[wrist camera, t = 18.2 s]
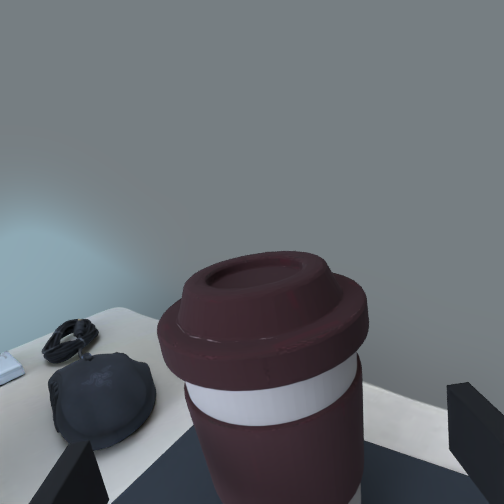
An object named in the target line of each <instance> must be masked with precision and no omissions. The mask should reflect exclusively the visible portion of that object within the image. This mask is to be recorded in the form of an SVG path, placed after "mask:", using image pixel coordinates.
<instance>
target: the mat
mask: <svg viewBox="0 0 504 504" xmlns="http://www.w3.org/2000/svg"><path fill="white" fill-rule="evenodd" d="M360 485H361V504H489V502H488V501H487V500H486V498H485V497H484V496H483V494H482V493H481V492H480V490H479V489H478V487H477V486H476V485H475V483H474V482H473V481H472V479H471V478H470V477H469V476H467V475H464V474H461V473H458V472H455V471H453V470H450V469H447V468H444V467H441V466H438V465H435V464H432V463H429V462H426V461H423V460H420V459H417V458H414V457H411V456H408V455H405V454H403V453H400V452H397V451H394V450H391V449H388V448H385V447H382V446H379V445H376V444H373V443H370V442H367V441H364V469H363V475H362V479H361V483H360ZM111 504H223V503H222V501H221V499H220V498H219V496H218V494H217V492H216V489H215V487H214V484H213V481H212V478H211V475H210V472H209V469H208V466H207V463H206V460H205V457H204V454H203V451H202V448H201V445H200V442H199V439H198V436H197V433H196V430H195V427H194V425H193V426H192V427H191V428H190V429H189V430H188V431H187V432H186V433H184V434H183V435H182V436H181V437H180V438H179V439H178V440H177V441H176V442H175V443H174V444H173V445H172V446H171V447H170V448H169V449H168V450H167V451H166V452H165V453H164V454H162V455H161V456H160V457H159V458H158V459H157V460H156V461H155V462H154V463H153V464H152V465H151V466H150V467H149V468H148V469H147V470H146V471H145V472H144V473H143V474H142V475H141V476H139V477H138V478H137V479H136V480H135V481H134V482H133V483H132V484H131V485H130V486H129V487H128V488H127V489H126V490H125V491H124V492H123V493H122V494H121V495H120V496H119V497H118V498H116V499H115V500H114V501H113V502H112V503H111Z"/></svg>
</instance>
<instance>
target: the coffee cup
mask: <svg viewBox="0 0 504 504" xmlns="http://www.w3.org/2000/svg"><path fill="white" fill-rule="evenodd" d="M368 329H369V317H368V307H367V298H366V294H365V292H364V291H363V289H362V287H361V286H360V285H359V284H357V283H356V282H355V281H354V280H352V279H350V278H348V277H345V276H343V275H339V274H336V273H332V272H331V270H330V268H329V266H328V265H327V263H326V262H325V260H324V259H322V258H321V257H319V256H317V255H314V254H311V253H306V252H296V251H277V252H265V253H258V254H252V255H246V256H241V257H237V258H233V259H229V260H226V261H222V262H219V263H216V264H213V265H211V266H209V267H206V268H204V269H202V270H200V271H198V272H197V273H195V274H194V275H193V276H192V277H190V278H189V279H188V280H187V281H186V283H185V285H184V288H183V293H182V298H181V299H180V300H178V301H177V302H176V303H174V304H173V305H172V306H171V307H169V308H168V310H166V312H165V313H164V314H163V315H162V317H161V319H160V320H159V323H158V326H157V335H158V339H159V343H160V347H161V351H162V355H163V358H164V361H165V363H166V365H167V367H168V368H169V369H170V371H171V372H172V373H174V374H175V375H176V376H177V377H179V378H180V379H182V380H183V381H185V385H184V391H185V399H186V402H187V406H188V409H189V412H190V415H191V418H192V421H193V424H194V427H195V430H196V433H197V436H198V439H199V442H200V445H201V448H202V451H203V454H204V457H205V460H206V463H207V466H208V469H209V472H210V475H211V478H212V481H213V484H214V487H215V489H216V492H217V494H218V496H219V498H220V499H221V501H222V503H223V504H361V485H360V483H361V479H362V475H363V469H364V431H363V386H362V367H361V361H360V358H359V355H358V353H357V352H356V351H357V350H358V349H359V347H360V346H361V345H362V344H363V342H364V340H365V339H366V336H367V333H368Z"/></svg>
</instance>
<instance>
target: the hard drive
mask: <svg viewBox="0 0 504 504" xmlns="http://www.w3.org/2000/svg"><path fill="white" fill-rule="evenodd" d="M23 374H25V372H24V369H23V367H22V365H21V364H20V363H19V362H18V361H17V360H16V359H15V358H14V357H13V356H12V355H11V354H10V353H9V352H8V351H5V352H3V353H0V385H2V384H4V383H6V382H8V381H10V380H12V379H15V378H17V377H19V376H21V375H23Z"/></svg>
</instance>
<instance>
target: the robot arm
mask: <svg viewBox="0 0 504 504" xmlns="http://www.w3.org/2000/svg"><path fill="white" fill-rule="evenodd" d="M447 405H448V431H449V450H450V451H451V452H452V454H453V455H454V456H455V458H456V459H457V460H458V462H459V463H460V464H461V466H462V467H463V469H464V470H465V471H466V473H467V474H468V475H469V477H470V478H471V479H472V481H473V482H474V483H475V485H476V486H477V487H478V489H479V490H480V492H481V493H482V494H483V496H484V497H485V498H486V500H487V501H488V502H489V504H504V415H503V414H502V413H501V412H500V411H498V409H497V408H495V407H494V406H493V405H492V404H491V403H490V402H489V401H488V400H487V399H486V398H485V397H484V396H483V395H482V394H480V393H479V392H478V391H477V390H476V389H475V388H474V387H473V386H472V385H471V384H470V383H469V382H466V383H459V384H452V385H447ZM108 501H109V497H108V494H107V491H106V488H105V485H104V482H103V479H102V476H101V473H100V470H99V467H98V464H97V461H96V458H95V455H94V452H93V449H92V445H91V442H90V440H86V441H79V442H73V443H69V444H68V446H67V447H66V449H65V450H64V452H63V453H62V455H61V456H60V458H59V459H58V461H57V462H56V464H55V465H54V467H53V468H52V470H51V471H50V473H49V474H48V476H47V477H46V479H45V480H44V482H43V483H42V485H41V486H40V488H39V489H38V491H37V492H36V494H35V495H34V497H33V498H32V500H31V501H30V503H29V504H107V503H108Z"/></svg>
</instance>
